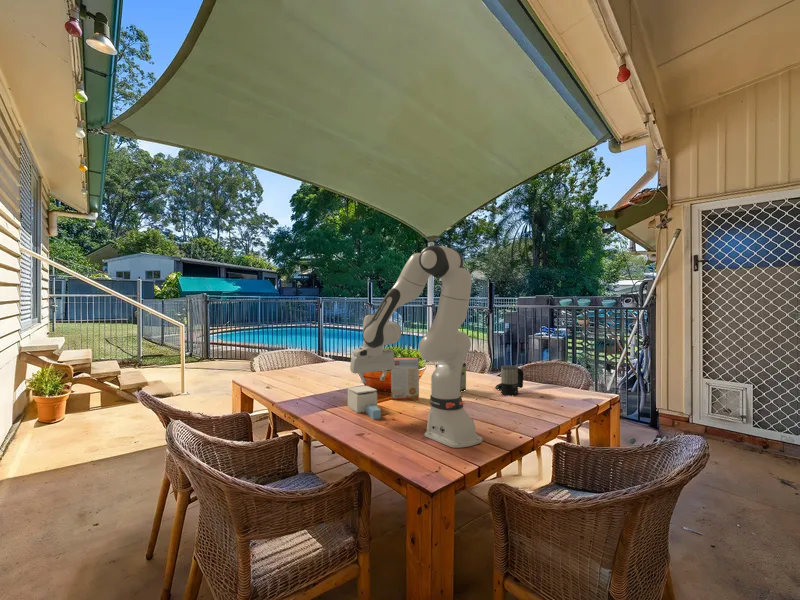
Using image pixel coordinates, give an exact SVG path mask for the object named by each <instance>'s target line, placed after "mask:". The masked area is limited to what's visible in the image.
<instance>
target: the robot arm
mask: <svg viewBox="0 0 800 600" xmlns="http://www.w3.org/2000/svg"><path fill="white" fill-rule="evenodd" d="M463 266H464V258H463V256H462V254H461V252H459V251H458V250H457V249H456V248H455V249H454V248H450V247H448V246H445V245H444V246H443V245H430V246H429V245H428V246H427V247H425V248H423V249H422V250H421V252H415V253H413V254H411V256H409V258H408V260H407V261H406V263H405V265H404V266H403V268H402V270H401V272H400V274H399V276H398V278H397V280H396V281H395V283H394V284H393V286H392V287H391V289H389V290H388V291H387V293H386V294H385V296H384V298H383V299H382V301H381V302H380V304H379V306H378V308H377V310H376V311H375V313H369V314H367V315H365V316H364V318H363V320H362V321H363V322H362V323H363V324H362V338H363V341H362V345H361V346H359V347H358V348H355V349H353V350H352V351H351V352H352V356H351V358H350V367H349V368H350V370H349V371H350V372H351V373H352V374H355V375H356V374H358V375H359V377H360V380H361V384H366V383H367V378H364V373H372V372H373V373H374V372H382V374H381V375H380V376H379V381H381V382H383V381H385V380H386V379H385V377H386V376H387V374H388V371H391V370H393V369H394V368H395V363H394V358H395V351H394V350H393V349H391V348H387V349H386V348H385V349H384V346H388V345H392V344H397V343H398V342H399V341H400V339H401V337H402V329H401V326H400V325H399V324H398V323H397V322H396V321H395V322H394V321H391V320H390V319H391V318H392V316H393V315H394V312H395V311H396V310H397V309H398V308H400V307H402V306H403V305H405V304H408V303H411V302H413V301H416V299H418V298H419V297H420V296H421V295H422V293H423V290H424V289H425V287H426V286H427V285H426V284H427V282H428V280H429V278H430V277H431V276H432V277H434V278H436V279H441V282H442V283H441V291H440V296H439V301H438V306H437V311H436V315H435V317H434V318H433V321H432V323H431V325H430V326H429V329H428V331H427V332H426V334H425V335H424V336H423V337H422V338H420V341H419V342H418V352H419V354H420V356H421V357H422V359H423V360H425V361H426V362H431V363H437V364H436V365H437V367H436V366H435V369H434V370H433V372H432V373H431V378H430V379H431V385H430V386H431V389H430V391H431V393H430V396H429V397H430V398H429V404H430V409H429V412H428V415H427V423H426V431H425V432H424V437H426V438H428V439H430V440H433V441H434V442H435V441H436V442H438V443H440V444H443V445H445V446H448V447H450V448H451V449H452V448H454V449H457V448H459V449H461V448H466V447H471V446H476V445H478V444H480V443H483V441H484V440H483V437H482V436H481V435H479V434H478V433H477V432H476V430H477V429H476V424H475V422H474V419H473V418H471V417H470V415H469V414H468V413H467V411H466V410H465V408H464V405H465V400H463V399H462V396H461V393H460V378H461V371H462V367H463V363H465V360H466V356H467V354H468V353H469V351H471V346H472V342H471V339H470V337H469V336H468V334H467V333H466V332H464V331H459V329H460V328H461V326H462V324H464V322H465V320H466V319H467V313H468V309H469V306H470V305H469V304H470V298H471V294H472V275H471V272H469V270H467V269H466V268H464V267H463Z"/></svg>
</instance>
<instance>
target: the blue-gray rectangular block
mask: <svg viewBox="0 0 800 600" xmlns="http://www.w3.org/2000/svg"><path fill="white" fill-rule="evenodd" d="M366 413H367V414H366ZM365 414H366V415H367V416H368V417H370V419H372V420H380V419H381V418H382V411H381V409H380V408H379V407H378V405H377V406H375V405H374V404H368V405H366V412H365Z"/></svg>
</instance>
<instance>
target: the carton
mask: <svg viewBox="0 0 800 600" xmlns="http://www.w3.org/2000/svg"><path fill="white" fill-rule="evenodd" d="M368 404H374V405H375V406H377V407H378V392H377V391H374V392H366V393H359V394H357V393H355V392H353V391H351V390H349V389H347V408H349V409H350V410H352V411H353V412H355V413H356V414H361V412H363V413H366V405H368Z"/></svg>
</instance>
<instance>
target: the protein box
mask: <svg viewBox="0 0 800 600" xmlns="http://www.w3.org/2000/svg"><path fill="white" fill-rule="evenodd" d="M436 367H437V364H435V368H436ZM464 390H466V391H467V363H466V362H464V363H463V367H462V371H461V378H460V392H461V391H464ZM464 392H465V391H464ZM461 393H462V392H461Z"/></svg>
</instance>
